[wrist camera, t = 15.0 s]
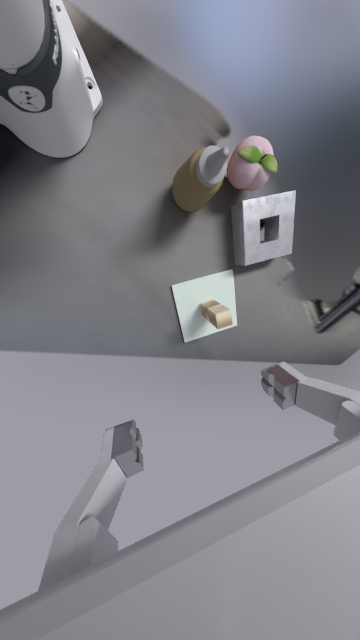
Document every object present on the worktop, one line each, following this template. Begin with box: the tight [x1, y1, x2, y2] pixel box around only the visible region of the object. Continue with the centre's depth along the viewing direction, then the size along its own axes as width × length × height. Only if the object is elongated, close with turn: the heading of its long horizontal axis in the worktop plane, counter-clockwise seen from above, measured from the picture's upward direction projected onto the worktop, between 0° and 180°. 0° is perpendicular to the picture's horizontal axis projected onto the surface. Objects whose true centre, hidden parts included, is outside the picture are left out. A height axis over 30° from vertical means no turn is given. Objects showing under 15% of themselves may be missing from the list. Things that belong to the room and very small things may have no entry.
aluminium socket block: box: [231, 191, 296, 266], centre depth 43 cm, size 14×14×5 cm
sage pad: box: [171, 269, 237, 342], centre depth 50 cm, size 18×18×1 cm
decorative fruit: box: [227, 136, 277, 191], centre depth 35 cm, size 9×8×10 cm
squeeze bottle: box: [172, 145, 229, 212], centre depth 30 cm, size 8×8×18 cm
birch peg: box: [200, 300, 233, 329], centre depth 45 cm, size 4×4×10 cm
